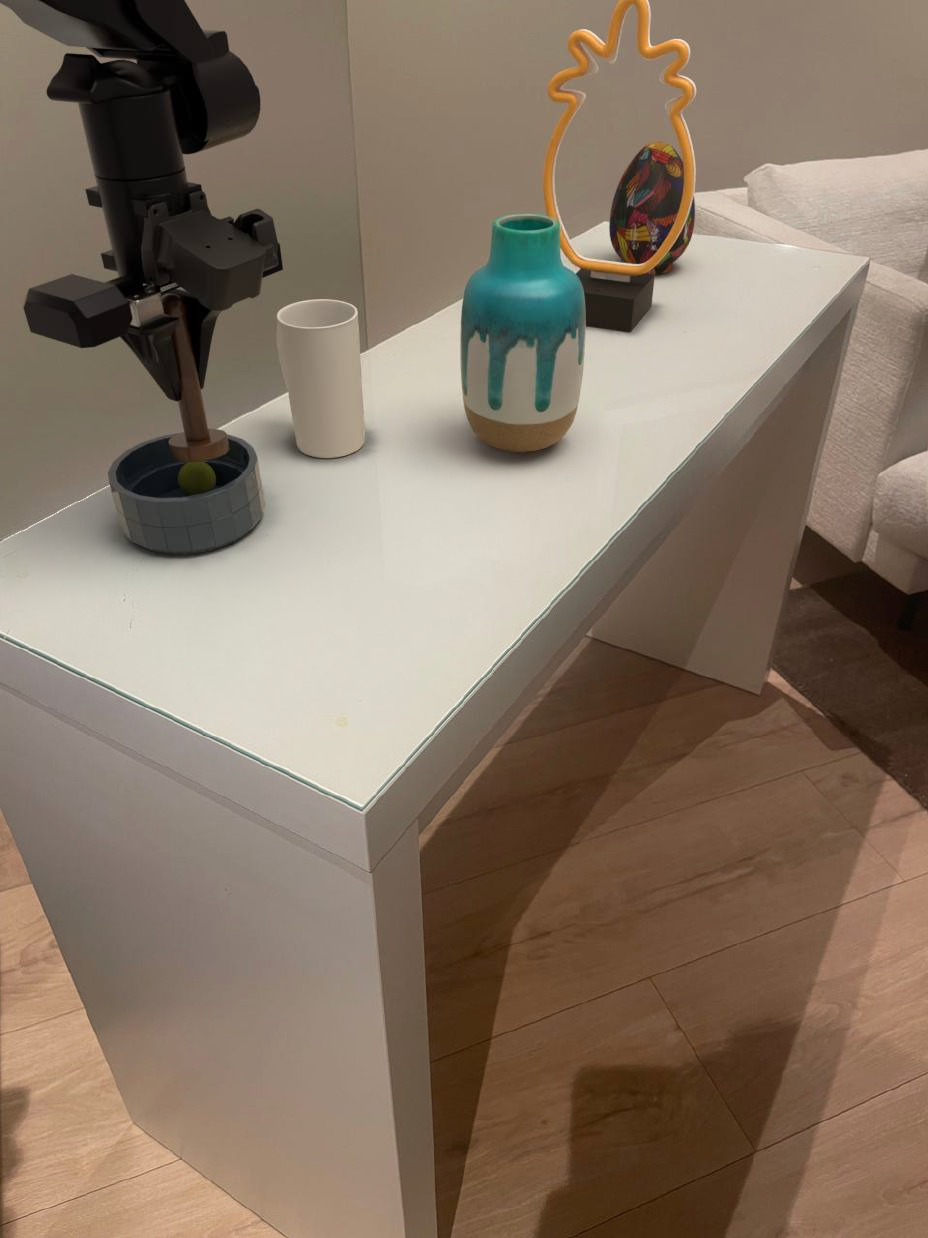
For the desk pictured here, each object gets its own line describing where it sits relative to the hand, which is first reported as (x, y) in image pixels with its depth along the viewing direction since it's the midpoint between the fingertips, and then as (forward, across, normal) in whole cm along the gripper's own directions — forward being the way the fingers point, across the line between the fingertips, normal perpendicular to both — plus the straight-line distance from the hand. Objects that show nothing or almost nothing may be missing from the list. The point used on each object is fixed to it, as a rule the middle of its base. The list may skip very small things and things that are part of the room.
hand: (185, 394), depth 71 cm
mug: (+10, +15, +1) cm, 18 cm away
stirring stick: (+4, 0, -1) cm, 5 cm away
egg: (+10, +75, -4) cm, 76 cm away
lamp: (+10, +57, -7) cm, 58 cm away
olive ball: (+8, +1, +2) cm, 8 cm away
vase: (+10, +24, -15) cm, 30 cm away
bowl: (+10, -2, 0) cm, 10 cm away
